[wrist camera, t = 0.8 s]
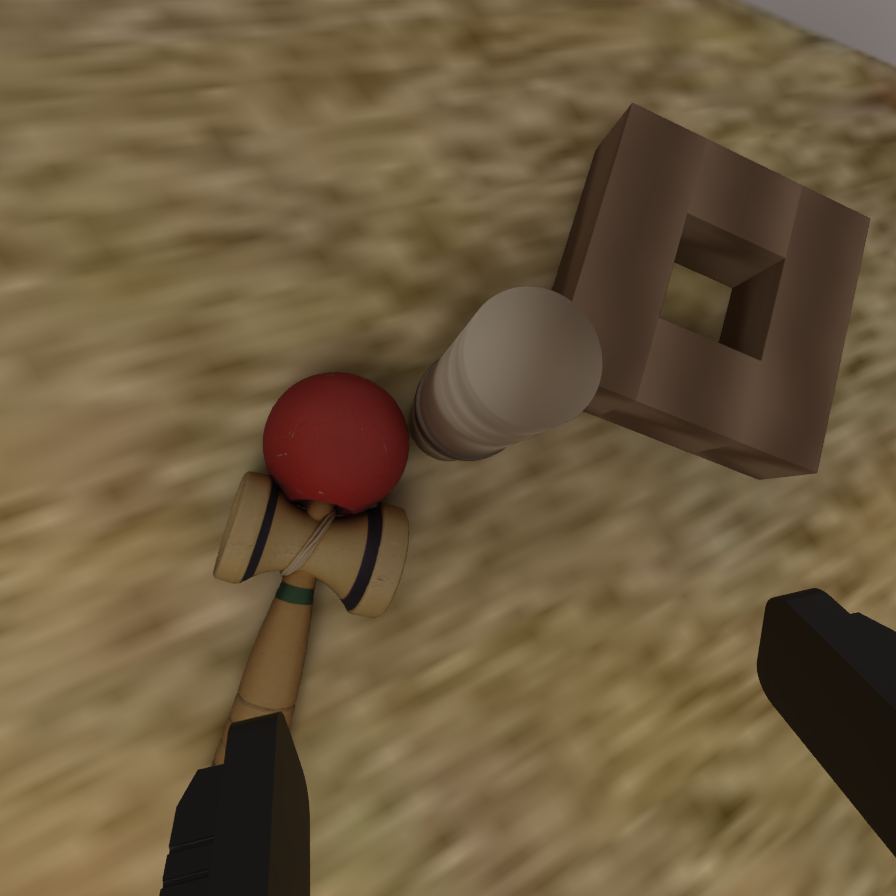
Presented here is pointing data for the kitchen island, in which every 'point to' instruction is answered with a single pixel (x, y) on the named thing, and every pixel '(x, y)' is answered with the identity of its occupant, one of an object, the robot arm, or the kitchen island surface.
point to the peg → (507, 376)
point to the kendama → (316, 525)
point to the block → (727, 261)
